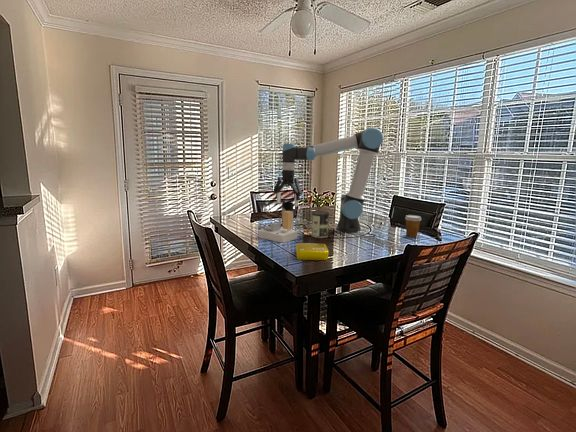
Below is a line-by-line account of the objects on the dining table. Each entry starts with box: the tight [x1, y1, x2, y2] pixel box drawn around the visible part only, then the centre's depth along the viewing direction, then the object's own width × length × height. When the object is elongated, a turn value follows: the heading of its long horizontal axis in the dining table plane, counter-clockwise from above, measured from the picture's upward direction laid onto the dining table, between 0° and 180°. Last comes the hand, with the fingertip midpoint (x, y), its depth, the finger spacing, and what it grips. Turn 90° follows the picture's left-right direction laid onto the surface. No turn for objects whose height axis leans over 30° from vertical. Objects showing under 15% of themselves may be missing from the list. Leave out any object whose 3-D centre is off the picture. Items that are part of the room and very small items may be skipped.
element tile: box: [295, 242, 329, 261], centre depth 168 cm, size 15×15×5 cm
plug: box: [282, 211, 293, 230], centre depth 212 cm, size 4×4×13 cm
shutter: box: [263, 221, 281, 231], centre depth 201 cm, size 7×7×4 cm
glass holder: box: [280, 201, 302, 227], centre depth 233 cm, size 9×14×15 cm, turn 107°
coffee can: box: [310, 210, 330, 239], centre depth 204 cm, size 10×10×14 cm
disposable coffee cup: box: [404, 214, 422, 238], centre depth 209 cm, size 10×10×12 cm
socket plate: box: [258, 227, 299, 244], centre depth 199 cm, size 18×14×4 cm
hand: (287, 204), depth 209 cm, fingers open, 13 cm apart
